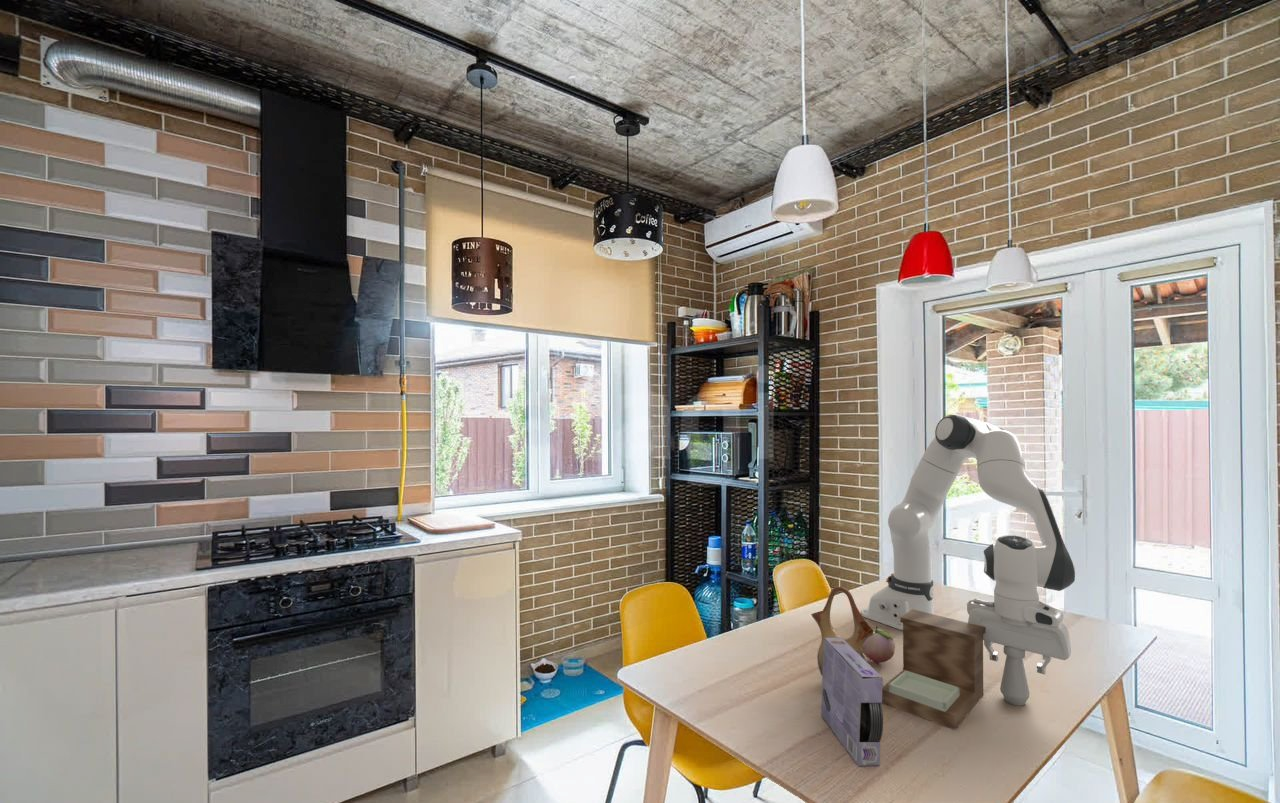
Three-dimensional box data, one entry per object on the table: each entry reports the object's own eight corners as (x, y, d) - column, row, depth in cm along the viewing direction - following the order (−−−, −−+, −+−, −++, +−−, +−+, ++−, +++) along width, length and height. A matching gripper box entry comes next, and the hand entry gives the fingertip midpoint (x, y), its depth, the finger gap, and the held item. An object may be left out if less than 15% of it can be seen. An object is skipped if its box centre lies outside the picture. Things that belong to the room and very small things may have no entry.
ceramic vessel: (801, 682, 141) (801, 582, 141) (822, 672, 147) (822, 575, 147) (863, 709, 128) (863, 599, 129) (883, 697, 134) (882, 591, 134)
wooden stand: (878, 701, 132) (878, 631, 132) (912, 671, 147) (912, 609, 147) (957, 730, 120) (957, 654, 120) (985, 694, 135) (985, 627, 135)
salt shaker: (1034, 709, 129) (1034, 651, 129) (1006, 706, 130) (1006, 649, 130) (1022, 696, 134) (1022, 641, 135) (996, 693, 136) (995, 639, 136)
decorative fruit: (900, 663, 152) (900, 625, 152) (889, 673, 146) (889, 634, 146) (865, 652, 158) (865, 617, 158) (854, 662, 152) (853, 625, 152)
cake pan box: (885, 770, 107) (885, 676, 107) (860, 771, 106) (860, 677, 107) (841, 715, 126) (841, 635, 126) (819, 716, 126) (819, 636, 126)
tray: (888, 692, 130) (888, 684, 130) (905, 677, 137) (905, 670, 137) (945, 712, 122) (945, 703, 122) (959, 695, 129) (959, 687, 129)
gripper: (963, 600, 138) (963, 657, 137) (1067, 621, 123) (1068, 685, 123) (970, 594, 142) (971, 649, 142) (1071, 614, 128) (1072, 675, 127)
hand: (1017, 666), depth 132 cm, fingers open, 8 cm apart
